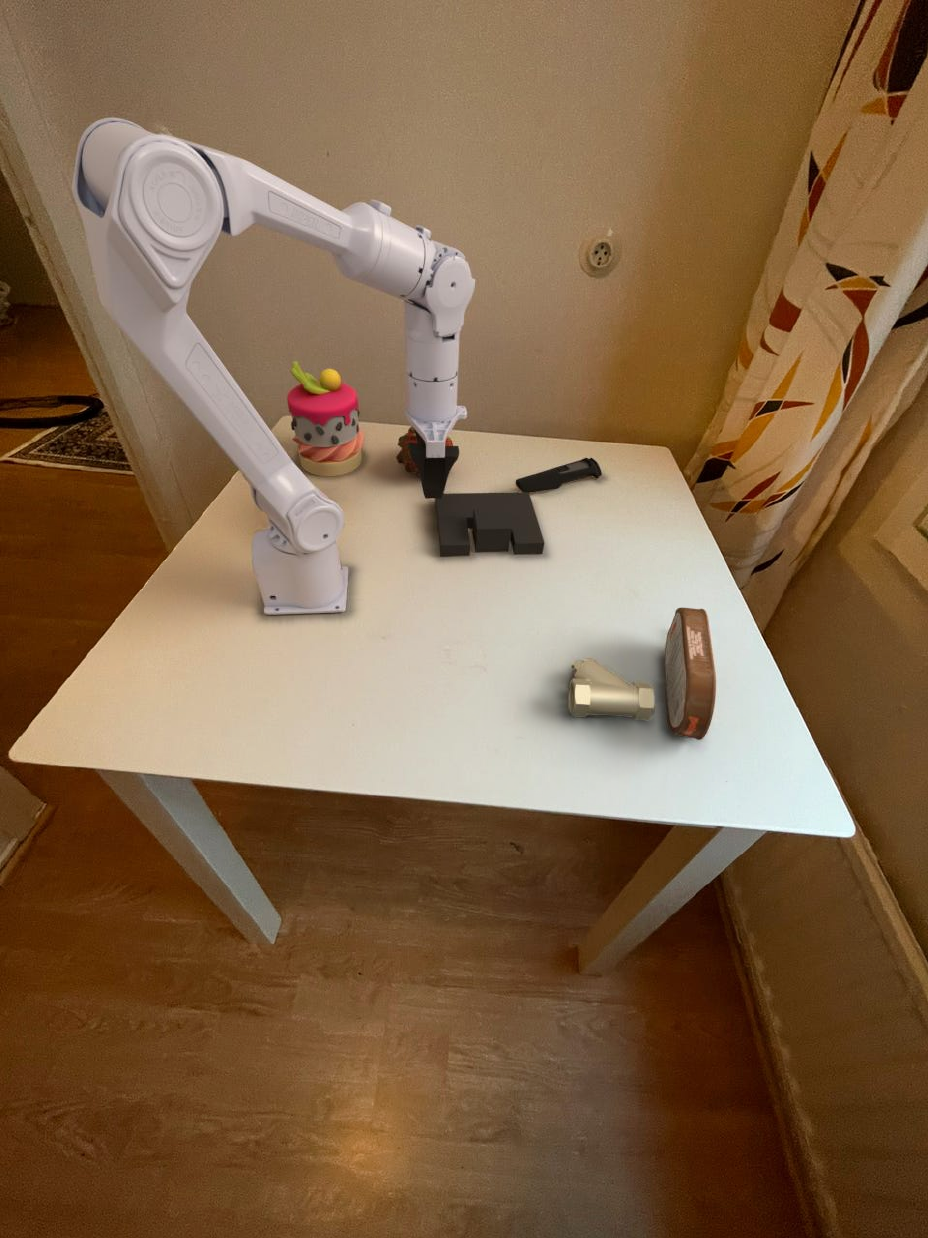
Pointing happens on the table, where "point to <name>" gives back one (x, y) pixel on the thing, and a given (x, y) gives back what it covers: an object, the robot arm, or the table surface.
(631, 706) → the pipe fitting
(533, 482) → the electric trimmer
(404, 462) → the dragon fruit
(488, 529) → the pad
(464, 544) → the pad base
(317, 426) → the cake
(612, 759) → the table surface
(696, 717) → the tin
